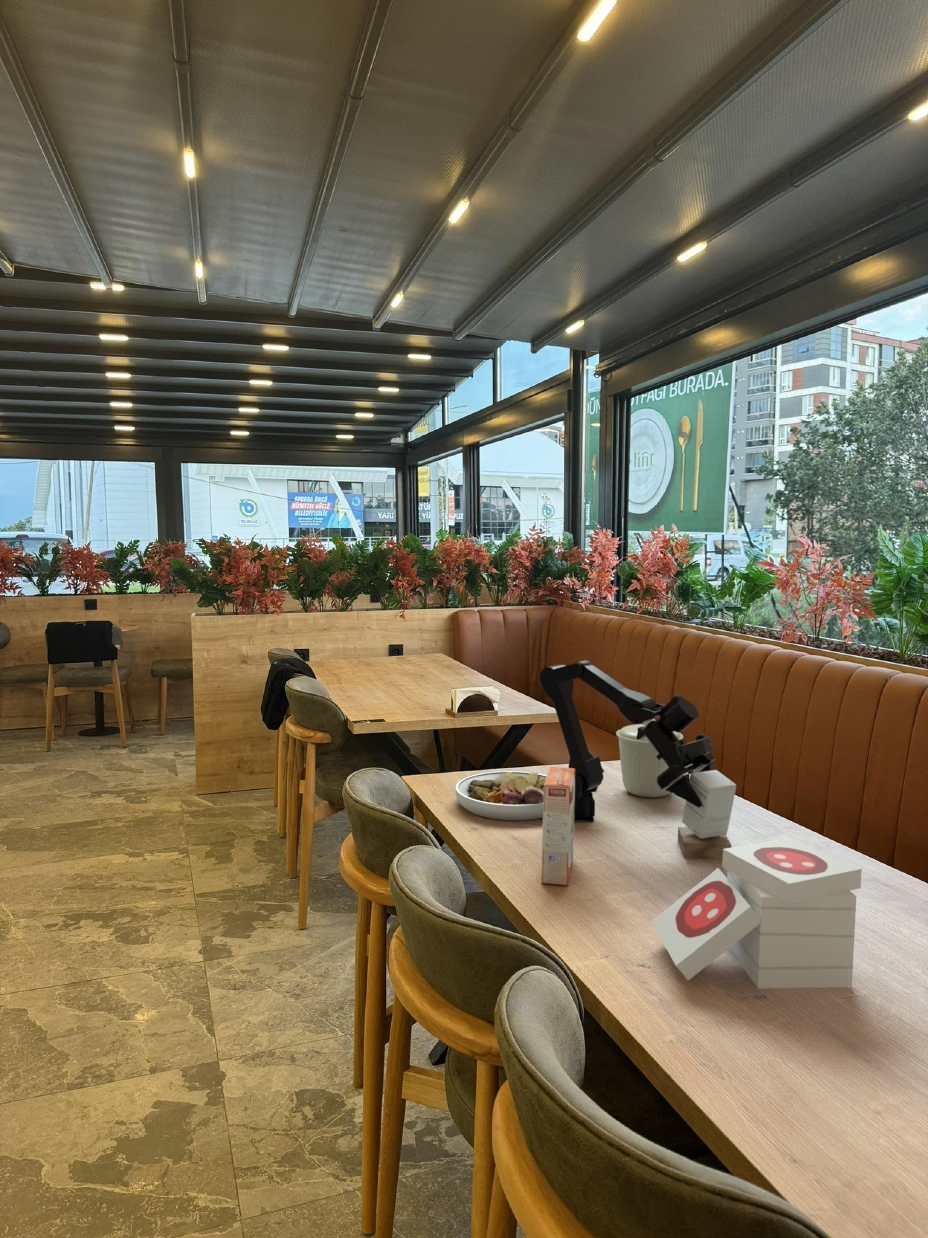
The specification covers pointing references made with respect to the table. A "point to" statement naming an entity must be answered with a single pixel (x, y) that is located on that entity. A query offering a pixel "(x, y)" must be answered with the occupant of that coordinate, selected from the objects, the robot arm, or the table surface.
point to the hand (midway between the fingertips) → (710, 801)
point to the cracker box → (558, 825)
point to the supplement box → (710, 804)
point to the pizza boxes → (769, 916)
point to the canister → (640, 763)
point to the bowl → (503, 795)
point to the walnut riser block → (701, 845)
